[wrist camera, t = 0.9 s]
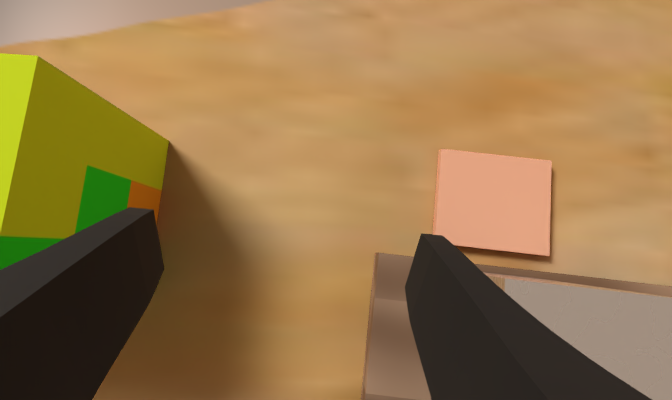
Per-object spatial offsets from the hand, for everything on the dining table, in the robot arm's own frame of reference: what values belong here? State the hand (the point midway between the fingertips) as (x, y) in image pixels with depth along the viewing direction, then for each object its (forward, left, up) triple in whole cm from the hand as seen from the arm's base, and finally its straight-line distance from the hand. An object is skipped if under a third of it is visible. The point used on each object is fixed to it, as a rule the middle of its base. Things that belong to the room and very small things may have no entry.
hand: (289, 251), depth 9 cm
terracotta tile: (+4, -11, -12) cm, 17 cm away
